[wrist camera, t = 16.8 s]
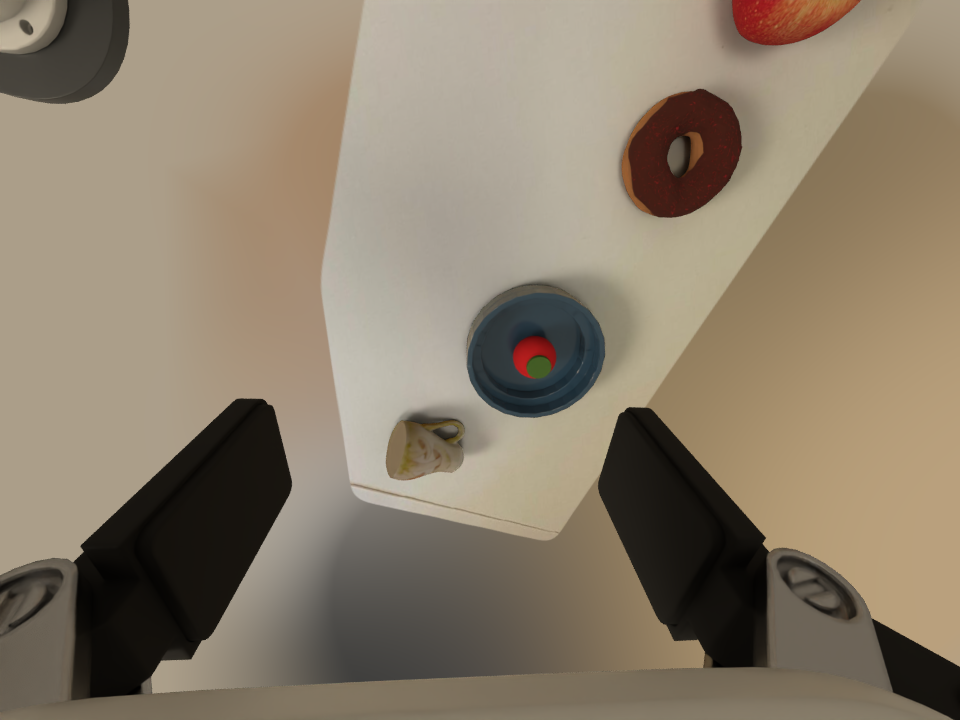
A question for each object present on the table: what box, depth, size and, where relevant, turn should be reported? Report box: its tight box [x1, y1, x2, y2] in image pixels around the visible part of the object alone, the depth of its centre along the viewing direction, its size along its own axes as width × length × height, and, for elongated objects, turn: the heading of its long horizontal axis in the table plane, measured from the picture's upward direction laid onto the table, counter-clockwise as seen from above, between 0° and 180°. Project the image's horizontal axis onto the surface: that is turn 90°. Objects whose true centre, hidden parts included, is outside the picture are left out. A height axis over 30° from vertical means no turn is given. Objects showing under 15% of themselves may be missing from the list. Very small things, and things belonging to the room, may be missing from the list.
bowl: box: [467, 285, 605, 418], centre depth 39 cm, size 15×15×4 cm
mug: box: [386, 420, 465, 480], centre depth 43 cm, size 8×10×10 cm
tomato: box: [513, 336, 556, 379], centre depth 38 cm, size 5×5×5 cm
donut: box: [622, 89, 742, 218], centre depth 31 cm, size 10×10×4 cm
